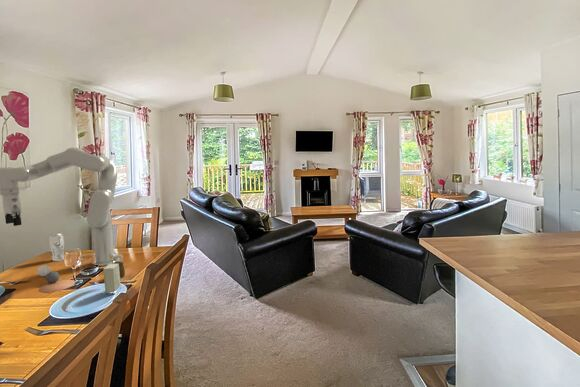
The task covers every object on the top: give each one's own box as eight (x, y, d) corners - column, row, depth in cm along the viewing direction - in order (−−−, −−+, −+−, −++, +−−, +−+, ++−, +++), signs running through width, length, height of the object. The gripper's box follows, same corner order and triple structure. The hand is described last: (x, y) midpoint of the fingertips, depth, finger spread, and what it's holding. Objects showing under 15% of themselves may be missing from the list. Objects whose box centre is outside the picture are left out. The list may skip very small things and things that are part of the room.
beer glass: (58, 262, 193) (55, 236, 190) (48, 261, 194) (45, 236, 192) (68, 258, 199) (66, 233, 197) (58, 257, 201) (56, 233, 199)
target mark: (79, 278, 167) (79, 278, 167) (69, 290, 154) (69, 289, 154) (47, 282, 163) (46, 281, 163) (33, 294, 150) (33, 293, 150)
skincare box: (111, 289, 154) (109, 263, 152) (121, 288, 154) (119, 263, 153) (105, 295, 148) (102, 268, 146) (115, 294, 148) (113, 268, 146)
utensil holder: (122, 278, 166) (120, 255, 164) (109, 279, 165) (106, 255, 164) (127, 274, 172) (125, 251, 170) (114, 274, 171) (112, 252, 170)
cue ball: (53, 273, 175) (51, 263, 174) (48, 277, 170) (47, 266, 169) (40, 274, 173) (39, 264, 173) (35, 278, 168) (34, 268, 167)
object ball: (61, 279, 166) (60, 269, 165) (57, 284, 161) (56, 273, 160) (49, 281, 165) (47, 270, 164) (44, 285, 159) (42, 274, 159)
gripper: (25, 191, 171) (29, 224, 173) (11, 189, 180) (15, 221, 182) (7, 193, 165) (11, 227, 167) (-7, 191, 174) (-2, 223, 176)
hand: (13, 224), depth 175 cm, fingers open, 9 cm apart
